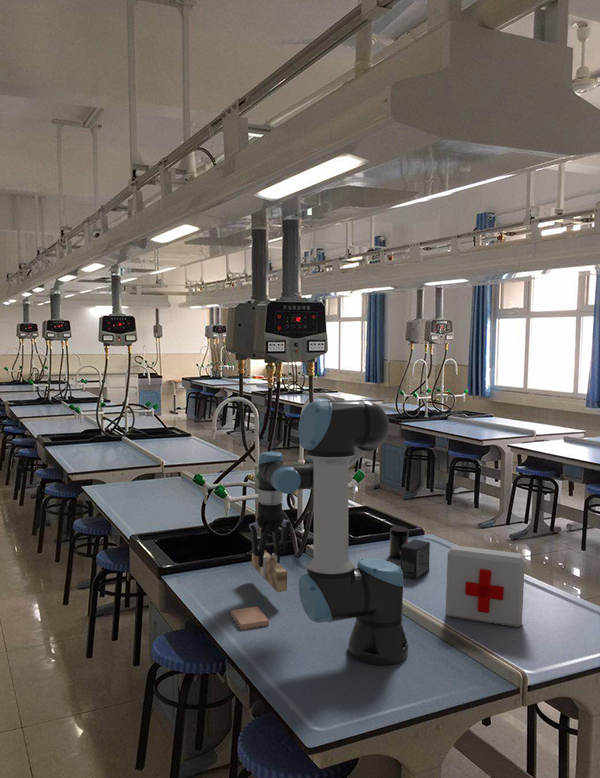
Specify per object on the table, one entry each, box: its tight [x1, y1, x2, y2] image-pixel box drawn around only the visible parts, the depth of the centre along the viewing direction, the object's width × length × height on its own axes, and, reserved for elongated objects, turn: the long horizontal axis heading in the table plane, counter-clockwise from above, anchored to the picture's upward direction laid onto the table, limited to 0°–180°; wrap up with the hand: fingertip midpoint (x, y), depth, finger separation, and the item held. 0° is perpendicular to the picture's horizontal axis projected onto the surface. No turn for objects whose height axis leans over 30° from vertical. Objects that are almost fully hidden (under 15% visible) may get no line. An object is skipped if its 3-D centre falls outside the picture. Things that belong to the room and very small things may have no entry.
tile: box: [230, 606, 270, 630], centre depth 186 cm, size 2×8×10 cm
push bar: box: [251, 545, 288, 593], centre depth 206 cm, size 24×3×6 cm, turn 23°
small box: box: [400, 538, 431, 580], centre depth 225 cm, size 11×6×10 cm, turn 144°
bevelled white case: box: [445, 544, 526, 628], centre depth 189 cm, size 21×8×20 cm, turn 70°
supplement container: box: [389, 525, 410, 560], centre depth 243 cm, size 7×7×10 cm
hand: (268, 575), depth 206 cm, fingers closed on push bar, 3 cm apart
